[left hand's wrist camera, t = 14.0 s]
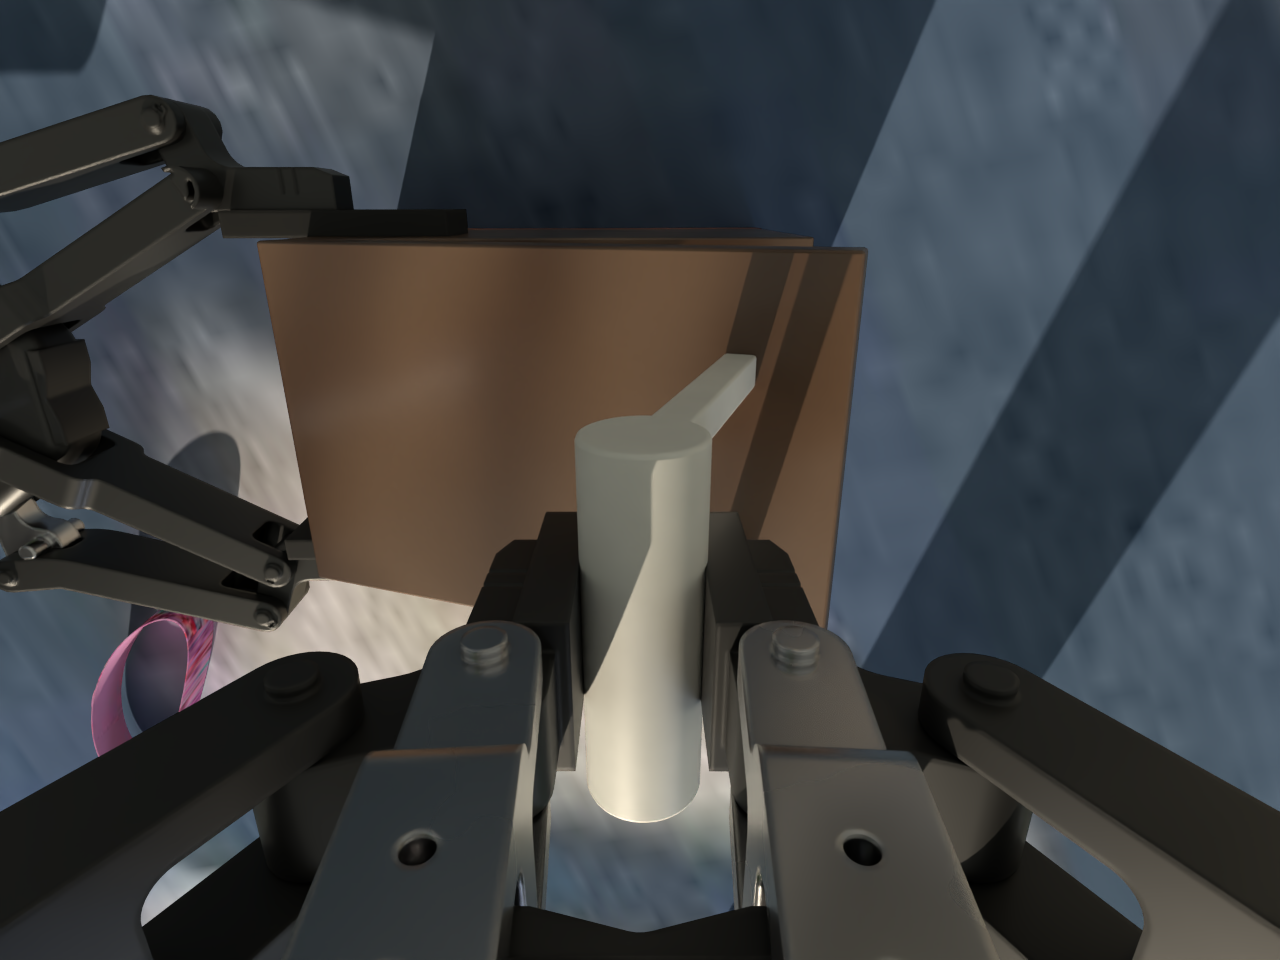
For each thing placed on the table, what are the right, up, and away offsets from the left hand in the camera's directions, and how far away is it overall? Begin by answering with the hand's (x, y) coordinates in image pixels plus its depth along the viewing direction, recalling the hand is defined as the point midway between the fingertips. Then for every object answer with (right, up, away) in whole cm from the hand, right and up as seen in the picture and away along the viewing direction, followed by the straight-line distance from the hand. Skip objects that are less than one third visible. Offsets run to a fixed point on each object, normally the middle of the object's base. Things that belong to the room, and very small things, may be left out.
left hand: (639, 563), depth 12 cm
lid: (-2, +3, +7) cm, 7 cm away
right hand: (-6, +4, +12) cm, 14 cm away
